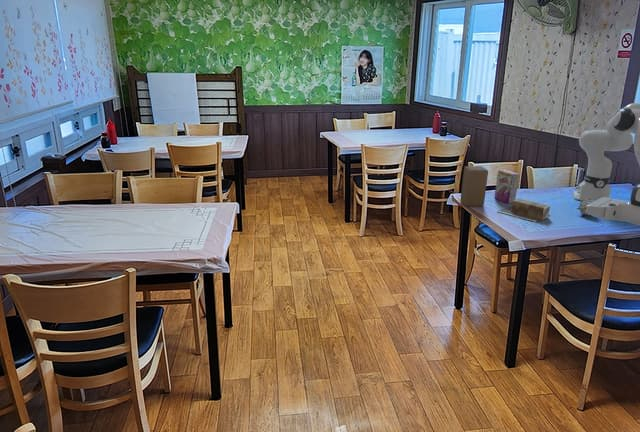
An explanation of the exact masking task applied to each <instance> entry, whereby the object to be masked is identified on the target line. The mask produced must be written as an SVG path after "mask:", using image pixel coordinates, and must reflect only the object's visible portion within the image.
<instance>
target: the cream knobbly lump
mask: <svg viewBox="0 0 640 432" xmlns="http://www.w3.org/2000/svg"><path fill="white" fill-rule="evenodd" d="M589 200H591V199H589ZM589 200H588V201H589ZM582 201H583V200H582ZM582 201H581V202H579V206H578V207H577V208H576V210H578V211H579V212H580V214H582V215H583V217H586V216H587V215H589V214H587V213H586V212H585V210H586V206H585V205H582V204H581V203H582Z"/></svg>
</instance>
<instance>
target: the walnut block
mask: <svg viewBox="0 0 640 432" xmlns="http://www.w3.org/2000/svg"><path fill="white" fill-rule="evenodd" d="M511 205H512V210H511V212H514V213H518V214H522V215H526V216H529V217H533V218H537V219H541V220H540V221H544V220H546V219H547V218H549V216H548V214H550V208H551V205H548V204H543V203H540V202H536V201H531V200H528V199H523V198H515V200H513V203H511Z"/></svg>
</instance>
